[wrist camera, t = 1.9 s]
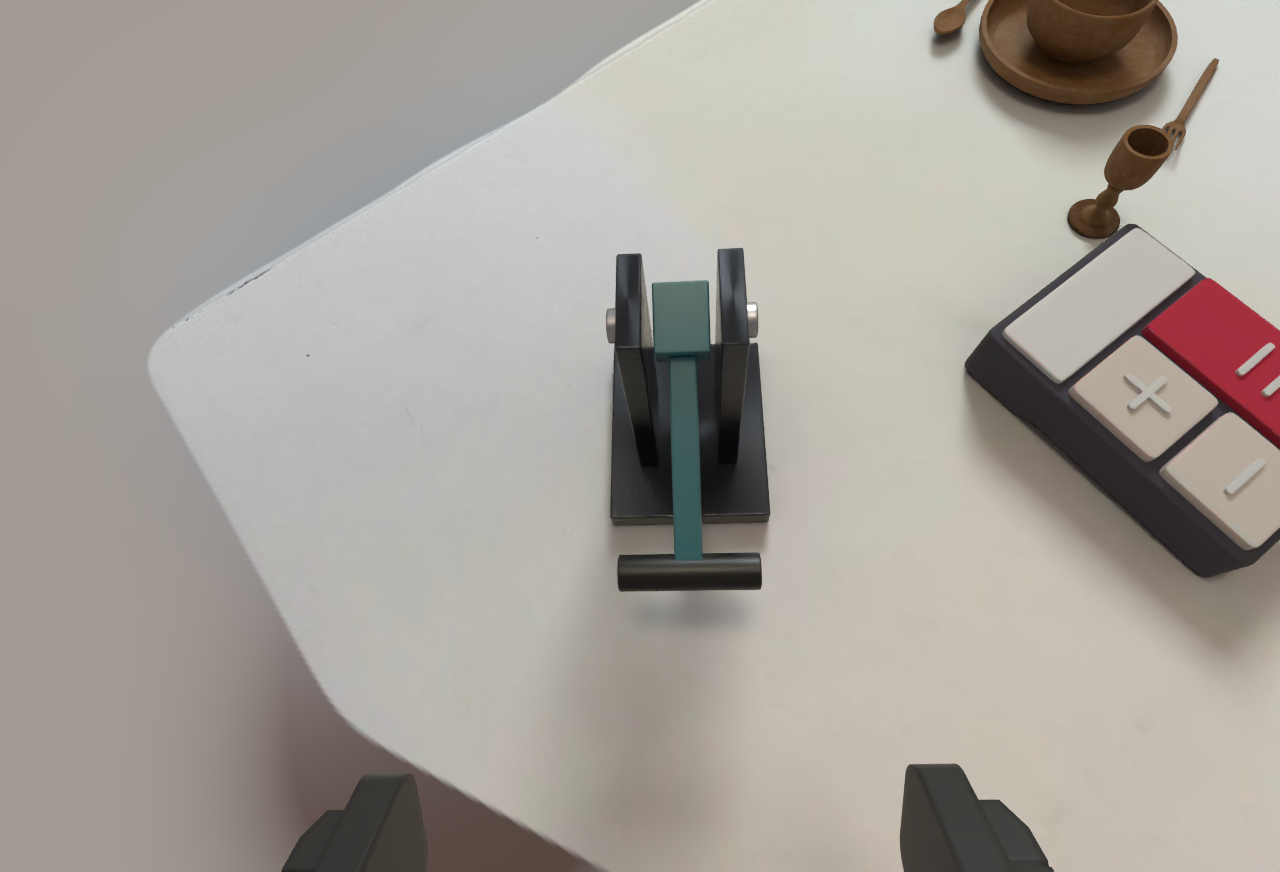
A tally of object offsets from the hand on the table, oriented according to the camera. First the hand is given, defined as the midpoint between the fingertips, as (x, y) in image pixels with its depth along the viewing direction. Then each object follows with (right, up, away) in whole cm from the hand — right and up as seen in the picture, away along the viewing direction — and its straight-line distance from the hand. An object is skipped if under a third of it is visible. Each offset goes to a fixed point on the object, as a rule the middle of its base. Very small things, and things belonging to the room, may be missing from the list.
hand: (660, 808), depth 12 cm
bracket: (+2, +6, +27) cm, 28 cm away
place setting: (+26, +29, +36) cm, 53 cm away
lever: (+2, +6, +18) cm, 19 cm away
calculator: (+26, +8, +26) cm, 38 cm away
